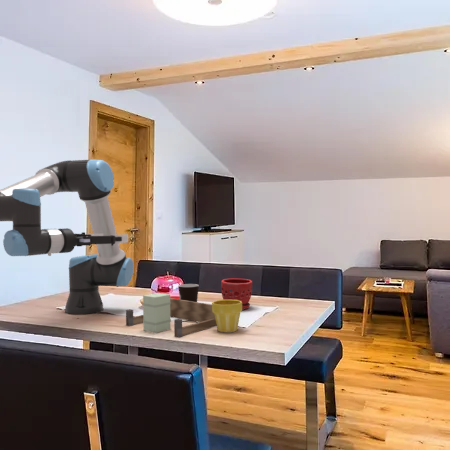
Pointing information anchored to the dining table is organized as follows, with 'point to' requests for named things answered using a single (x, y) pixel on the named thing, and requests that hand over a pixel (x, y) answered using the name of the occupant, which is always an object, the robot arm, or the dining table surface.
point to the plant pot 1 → (237, 290)
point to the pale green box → (156, 312)
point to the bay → (183, 316)
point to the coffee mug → (188, 292)
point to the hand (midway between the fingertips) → (114, 237)
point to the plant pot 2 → (227, 314)
